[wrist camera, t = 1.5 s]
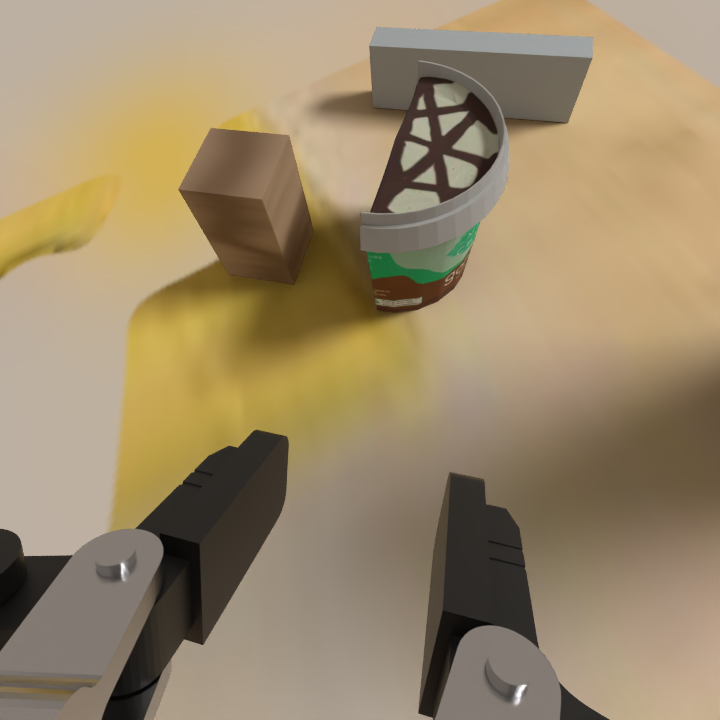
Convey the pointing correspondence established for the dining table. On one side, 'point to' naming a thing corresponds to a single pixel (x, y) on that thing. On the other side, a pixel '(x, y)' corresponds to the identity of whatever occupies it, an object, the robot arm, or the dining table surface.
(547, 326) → the dining table surface
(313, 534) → the dining table surface
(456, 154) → the food container
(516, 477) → the dining table surface
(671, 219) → the dining table surface
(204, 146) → the walnut block
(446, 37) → the rail
